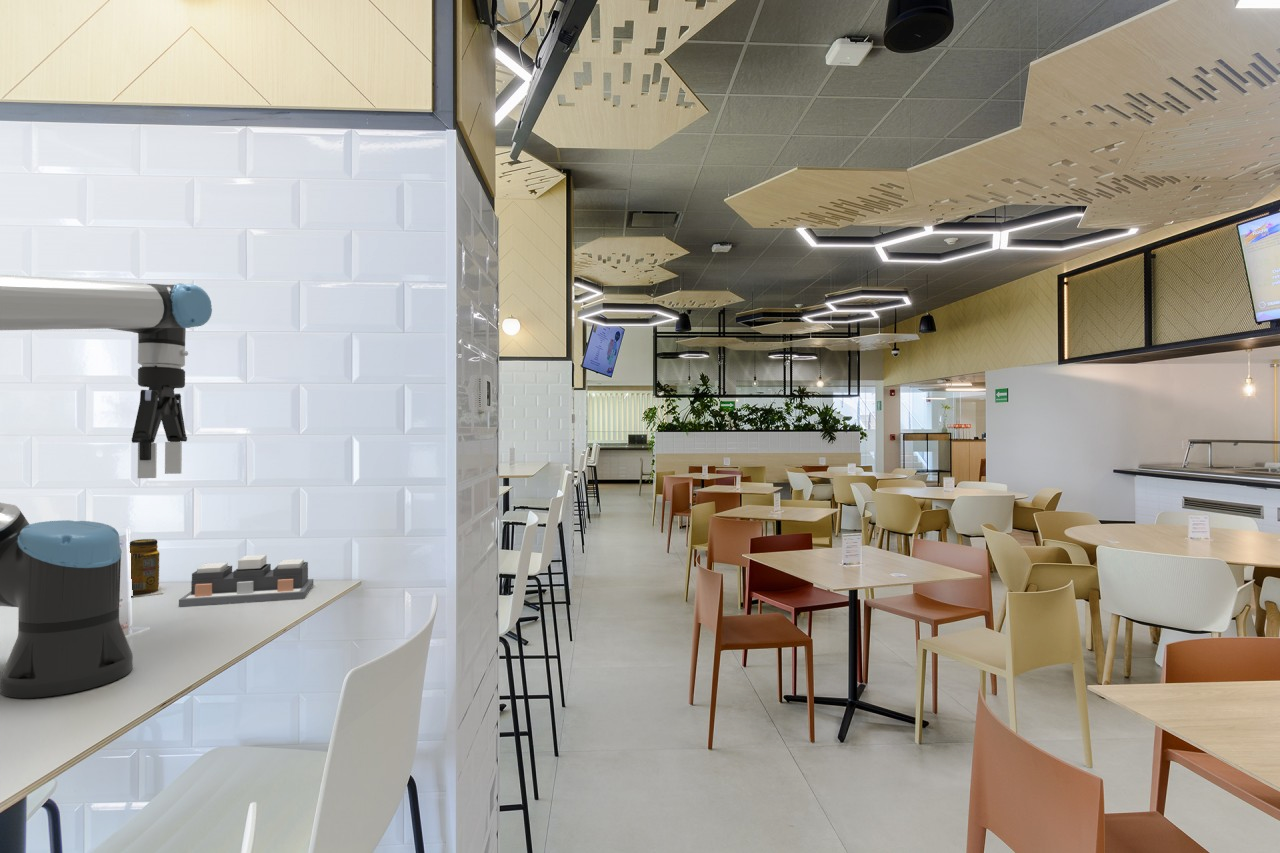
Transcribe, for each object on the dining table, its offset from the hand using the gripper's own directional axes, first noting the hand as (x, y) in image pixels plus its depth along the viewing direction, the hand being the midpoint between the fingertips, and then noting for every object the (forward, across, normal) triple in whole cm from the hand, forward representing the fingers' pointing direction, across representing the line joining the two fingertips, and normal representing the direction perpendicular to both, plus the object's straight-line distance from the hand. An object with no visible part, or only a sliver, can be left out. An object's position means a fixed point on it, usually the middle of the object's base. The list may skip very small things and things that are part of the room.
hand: (160, 475), depth 131 cm
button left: (+24, +21, -4) cm, 32 cm away
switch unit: (+29, +20, -12) cm, 37 cm away
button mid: (+22, +21, -12) cm, 33 cm away
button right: (+24, +21, -20) cm, 37 cm away
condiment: (+29, +29, +13) cm, 43 cm away
